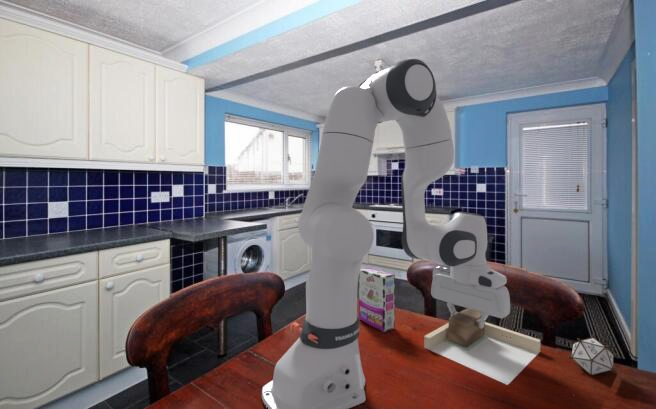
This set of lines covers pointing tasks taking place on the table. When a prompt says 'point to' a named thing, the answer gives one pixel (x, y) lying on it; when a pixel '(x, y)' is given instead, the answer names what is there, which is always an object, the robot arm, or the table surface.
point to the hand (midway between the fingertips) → (466, 322)
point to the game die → (592, 356)
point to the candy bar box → (377, 298)
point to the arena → (488, 351)
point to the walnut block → (465, 327)
